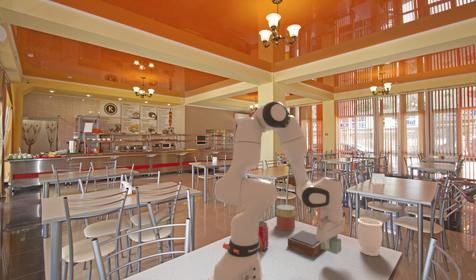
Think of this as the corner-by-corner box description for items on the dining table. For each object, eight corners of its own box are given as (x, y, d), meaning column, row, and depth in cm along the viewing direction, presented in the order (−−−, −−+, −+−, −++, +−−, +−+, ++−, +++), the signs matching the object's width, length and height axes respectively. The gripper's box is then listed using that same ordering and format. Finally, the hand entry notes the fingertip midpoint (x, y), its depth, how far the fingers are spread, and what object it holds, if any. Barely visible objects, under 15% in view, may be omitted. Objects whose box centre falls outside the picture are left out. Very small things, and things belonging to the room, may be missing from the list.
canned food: (293, 223, 145) (293, 204, 145) (296, 230, 134) (296, 210, 134) (276, 222, 146) (276, 204, 146) (276, 229, 135) (277, 209, 135)
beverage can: (251, 243, 117) (251, 220, 117) (266, 243, 117) (266, 220, 117) (253, 251, 109) (253, 227, 109) (269, 251, 110) (269, 226, 109)
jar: (369, 245, 115) (370, 216, 115) (387, 256, 105) (388, 224, 105) (352, 248, 112) (352, 218, 112) (368, 259, 102) (369, 226, 102)
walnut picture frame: (313, 256, 105) (313, 246, 105) (287, 246, 114) (287, 237, 114) (326, 246, 114) (326, 237, 114) (301, 237, 124) (301, 229, 124)
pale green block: (336, 254, 95) (336, 242, 95) (320, 248, 100) (320, 237, 100) (341, 250, 98) (341, 239, 98) (325, 245, 103) (325, 234, 103)
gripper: (327, 221, 90) (326, 256, 90) (347, 211, 104) (347, 241, 103) (312, 217, 94) (312, 250, 94) (334, 208, 108) (333, 237, 108)
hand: (330, 245), depth 99 cm, fingers closed on pale green block, 4 cm apart
